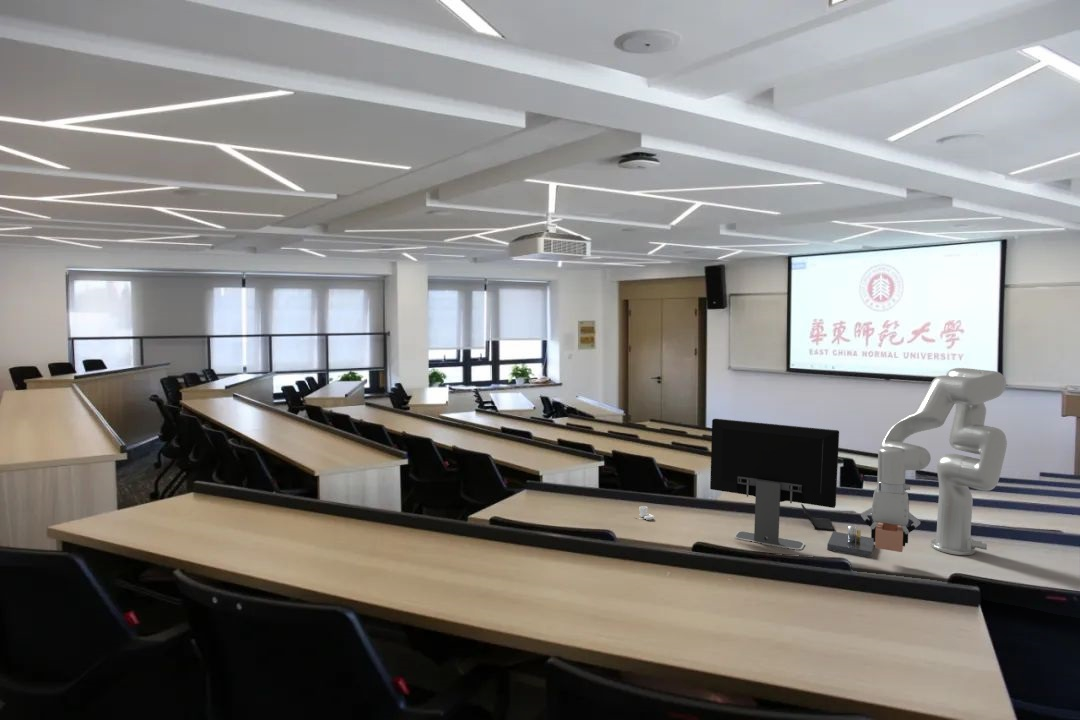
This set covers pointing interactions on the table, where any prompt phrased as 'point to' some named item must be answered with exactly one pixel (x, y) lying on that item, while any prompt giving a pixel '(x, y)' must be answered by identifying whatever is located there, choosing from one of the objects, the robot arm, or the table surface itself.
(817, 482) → the computer monitor
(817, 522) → the handheld gaming console
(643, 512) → the teacup and saucer
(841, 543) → the base plate
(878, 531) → the pink storage bin
